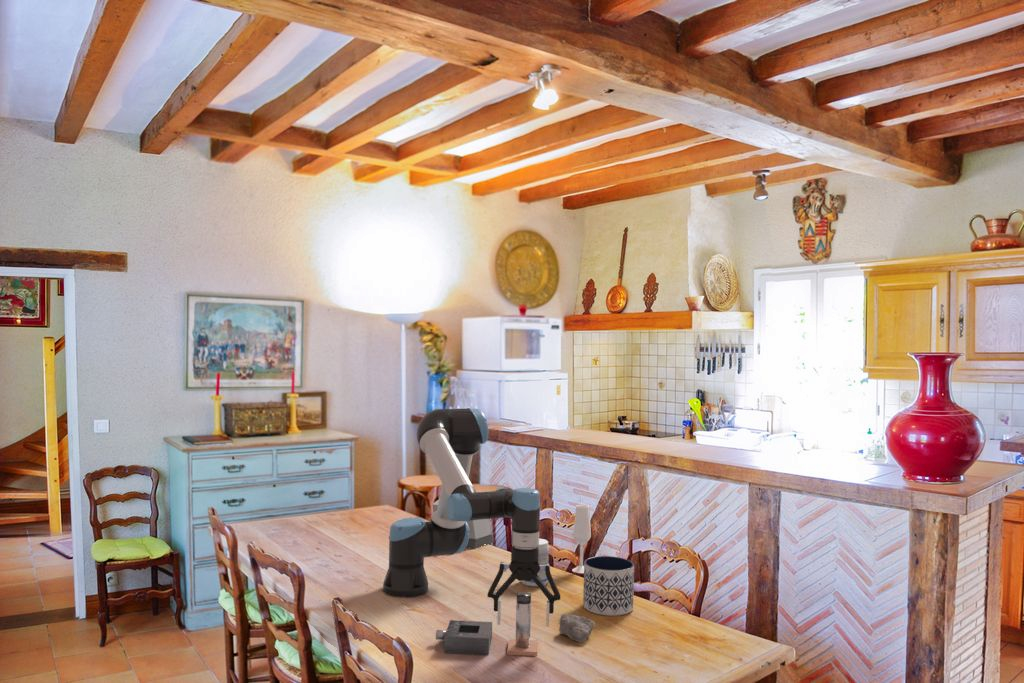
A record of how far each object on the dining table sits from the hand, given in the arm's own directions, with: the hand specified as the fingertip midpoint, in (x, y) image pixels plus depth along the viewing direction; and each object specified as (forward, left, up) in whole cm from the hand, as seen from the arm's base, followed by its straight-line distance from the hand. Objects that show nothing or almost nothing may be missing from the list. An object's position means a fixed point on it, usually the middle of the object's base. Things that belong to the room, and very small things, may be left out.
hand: (523, 624), depth 209 cm
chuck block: (-16, +1, -7) cm, 18 cm away
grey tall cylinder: (0, 0, -6) cm, 6 cm away
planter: (+26, +36, -7) cm, 45 cm away
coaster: (0, 0, -7) cm, 7 cm away
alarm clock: (-29, +109, -7) cm, 113 cm away
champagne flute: (+19, +75, -7) cm, 78 cm away
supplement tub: (+2, +58, -7) cm, 58 cm away
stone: (+15, +11, -7) cm, 20 cm away
